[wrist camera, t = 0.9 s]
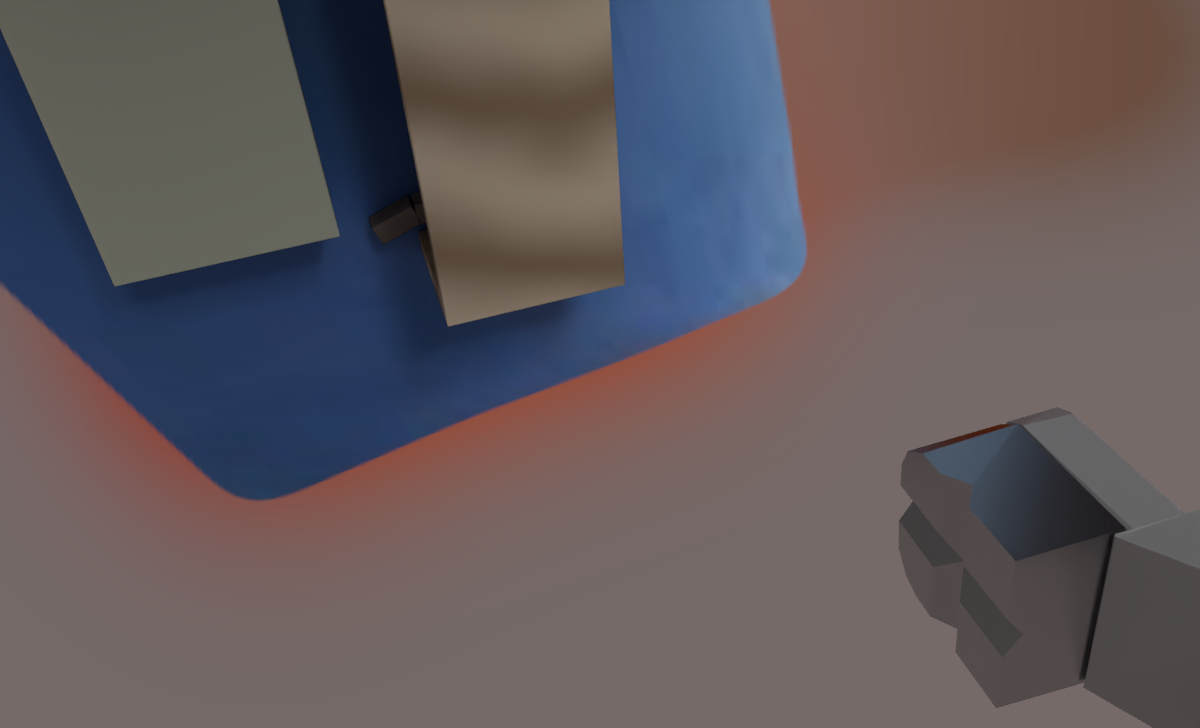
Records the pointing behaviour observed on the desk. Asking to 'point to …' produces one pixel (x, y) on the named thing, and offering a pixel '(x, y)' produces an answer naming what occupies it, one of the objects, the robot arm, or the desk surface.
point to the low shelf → (509, 150)
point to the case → (174, 127)
